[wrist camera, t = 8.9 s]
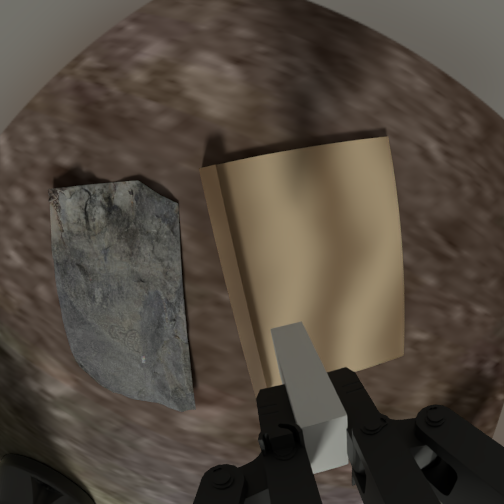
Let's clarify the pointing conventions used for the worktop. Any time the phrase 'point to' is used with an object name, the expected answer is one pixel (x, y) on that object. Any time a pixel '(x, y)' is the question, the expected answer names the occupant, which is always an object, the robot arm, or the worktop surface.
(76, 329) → the stone slab
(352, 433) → the robot arm
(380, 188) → the board
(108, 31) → the worktop surface
